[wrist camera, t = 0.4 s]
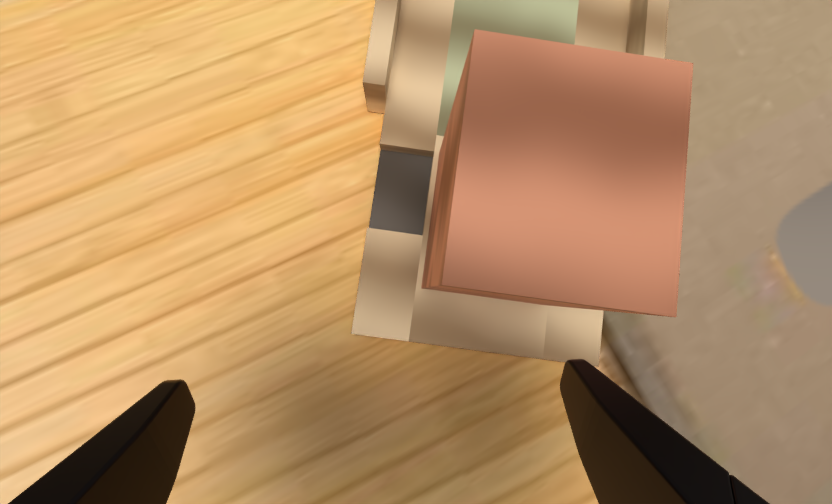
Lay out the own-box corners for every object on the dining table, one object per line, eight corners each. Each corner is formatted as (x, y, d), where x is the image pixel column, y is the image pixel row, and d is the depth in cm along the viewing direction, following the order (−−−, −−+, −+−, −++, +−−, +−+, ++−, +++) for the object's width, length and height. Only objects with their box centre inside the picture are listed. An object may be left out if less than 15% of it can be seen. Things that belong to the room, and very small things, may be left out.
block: (543, 304, 23) (675, 317, 12) (421, 288, 23) (441, 285, 12) (556, 169, 24) (693, 63, 13) (439, 152, 23) (474, 29, 12)
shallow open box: (605, 364, 24) (640, 377, 21) (333, 328, 24) (322, 334, 20) (638, -19, 27) (673, -66, 23) (394, -59, 26) (393, -112, 23)
